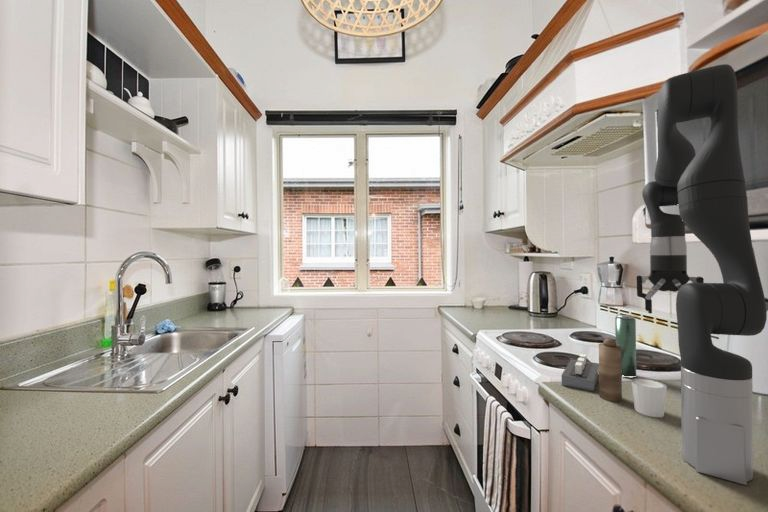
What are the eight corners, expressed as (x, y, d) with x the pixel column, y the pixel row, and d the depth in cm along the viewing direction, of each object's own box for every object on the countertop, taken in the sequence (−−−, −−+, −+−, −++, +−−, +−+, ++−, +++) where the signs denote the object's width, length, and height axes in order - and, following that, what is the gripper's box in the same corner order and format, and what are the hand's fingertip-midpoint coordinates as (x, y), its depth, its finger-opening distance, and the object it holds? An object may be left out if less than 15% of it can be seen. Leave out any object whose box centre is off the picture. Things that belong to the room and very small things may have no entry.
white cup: (674, 419, 77) (674, 389, 77) (640, 417, 79) (640, 387, 79) (656, 406, 84) (656, 378, 84) (626, 404, 85) (625, 377, 85)
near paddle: (581, 374, 97) (581, 365, 97) (575, 373, 98) (575, 364, 98) (582, 371, 100) (582, 362, 100) (576, 370, 101) (576, 361, 100)
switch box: (593, 391, 93) (593, 380, 93) (561, 385, 98) (561, 374, 98) (599, 372, 108) (598, 363, 108) (571, 367, 112) (570, 358, 112)
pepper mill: (621, 403, 86) (620, 341, 86) (598, 398, 89) (597, 338, 89) (622, 396, 90) (621, 337, 90) (600, 392, 93) (599, 335, 93)
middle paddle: (583, 369, 101) (583, 361, 101) (577, 368, 102) (577, 360, 102) (584, 366, 104) (584, 358, 104) (578, 365, 104) (578, 357, 104)
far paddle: (585, 365, 105) (585, 356, 105) (579, 364, 106) (579, 355, 106) (586, 362, 108) (586, 354, 108) (580, 361, 108) (580, 353, 108)
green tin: (636, 379, 101) (635, 318, 101) (615, 376, 104) (614, 316, 104) (636, 374, 106) (635, 315, 105) (616, 371, 109) (615, 313, 109)
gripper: (634, 254, 91) (635, 314, 91) (707, 253, 83) (707, 319, 83) (634, 253, 97) (635, 310, 97) (701, 253, 89) (702, 314, 89)
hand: (668, 314), depth 90 cm, fingers open, 7 cm apart
